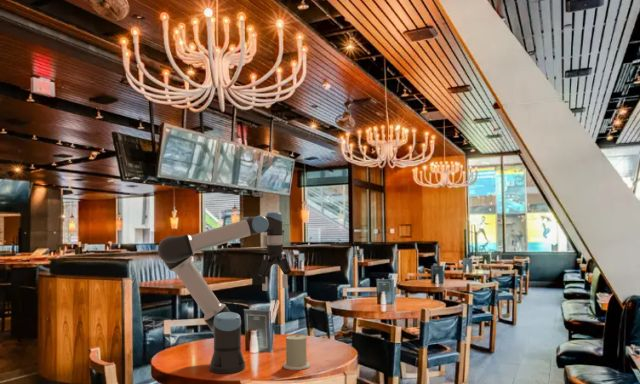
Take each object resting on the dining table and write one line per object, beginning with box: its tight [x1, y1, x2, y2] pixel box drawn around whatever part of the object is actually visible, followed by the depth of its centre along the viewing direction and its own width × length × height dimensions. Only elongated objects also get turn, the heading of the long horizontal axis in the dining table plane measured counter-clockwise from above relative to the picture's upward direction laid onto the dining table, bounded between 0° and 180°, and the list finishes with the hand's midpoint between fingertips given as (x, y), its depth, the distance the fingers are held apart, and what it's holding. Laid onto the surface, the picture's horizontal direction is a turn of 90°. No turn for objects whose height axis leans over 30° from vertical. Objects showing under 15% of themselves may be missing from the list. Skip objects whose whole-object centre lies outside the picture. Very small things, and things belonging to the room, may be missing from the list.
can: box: [285, 334, 308, 367], centre depth 226 cm, size 9×9×12 cm
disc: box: [282, 361, 311, 371], centre depth 226 cm, size 12×12×1 cm
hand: (275, 289), depth 245 cm, fingers open, 13 cm apart
